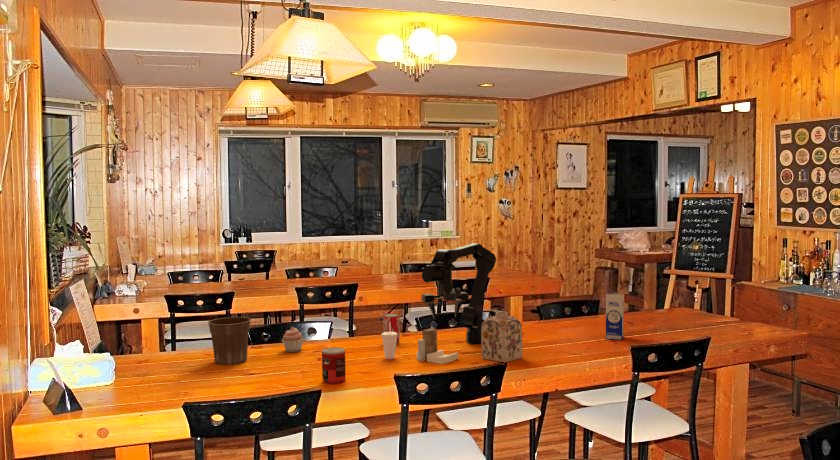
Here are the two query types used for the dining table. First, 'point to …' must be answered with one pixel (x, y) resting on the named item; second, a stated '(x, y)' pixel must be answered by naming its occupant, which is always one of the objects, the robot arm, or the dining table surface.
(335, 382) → the canned food
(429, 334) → the brown long block
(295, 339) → the cupcake
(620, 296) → the milk carton
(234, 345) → the plant pot
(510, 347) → the decorative jar
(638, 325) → the dining table surface
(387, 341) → the smoothie
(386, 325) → the soda can
